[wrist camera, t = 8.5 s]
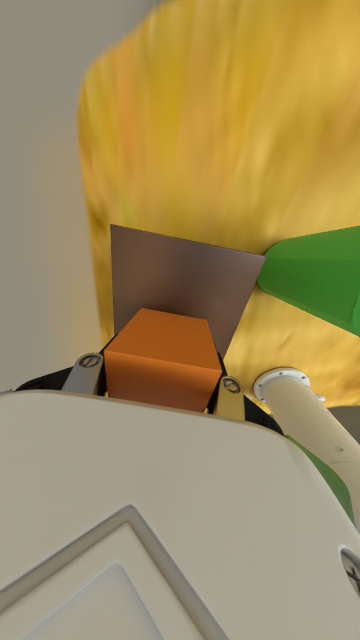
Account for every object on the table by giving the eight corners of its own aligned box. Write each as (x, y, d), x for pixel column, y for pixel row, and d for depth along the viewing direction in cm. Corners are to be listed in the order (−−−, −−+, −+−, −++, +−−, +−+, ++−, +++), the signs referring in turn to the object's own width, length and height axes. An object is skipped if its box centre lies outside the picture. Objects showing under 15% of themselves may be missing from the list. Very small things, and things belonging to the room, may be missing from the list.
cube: (207, 319, 11) (222, 371, 6) (192, 367, 13) (195, 432, 8) (141, 307, 11) (103, 350, 6) (138, 358, 13) (109, 419, 8)
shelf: (225, 256, 22) (267, 256, 11) (201, 337, 30) (210, 390, 18) (151, 241, 22) (109, 223, 10) (144, 326, 29) (115, 374, 17)
